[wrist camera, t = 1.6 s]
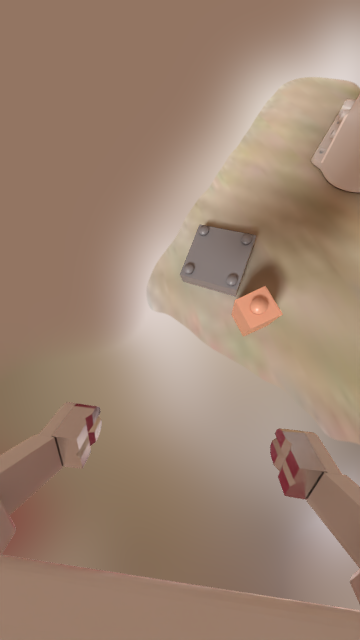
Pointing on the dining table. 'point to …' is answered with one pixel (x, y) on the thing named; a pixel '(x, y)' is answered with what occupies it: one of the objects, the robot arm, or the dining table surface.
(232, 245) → the charcoal base brick
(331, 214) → the dining table surface
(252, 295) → the terracotta brick
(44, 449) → the robot arm
